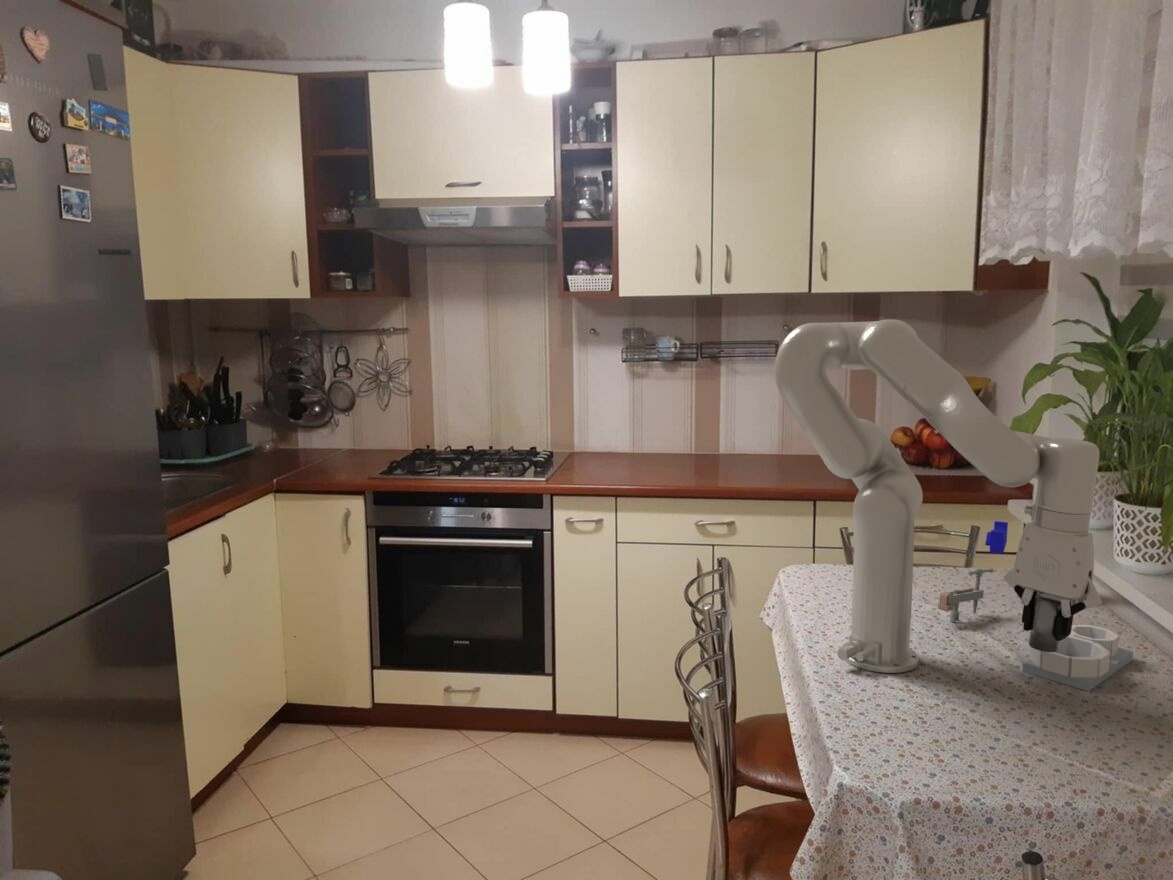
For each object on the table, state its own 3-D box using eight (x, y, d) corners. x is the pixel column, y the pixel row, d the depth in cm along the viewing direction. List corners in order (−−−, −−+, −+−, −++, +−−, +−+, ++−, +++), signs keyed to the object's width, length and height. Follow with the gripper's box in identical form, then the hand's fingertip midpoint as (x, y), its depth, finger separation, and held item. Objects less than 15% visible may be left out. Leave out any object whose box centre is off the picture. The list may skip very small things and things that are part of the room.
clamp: (946, 626, 157) (951, 575, 156) (935, 623, 159) (940, 572, 158) (991, 617, 166) (997, 567, 165) (981, 614, 168) (986, 565, 167)
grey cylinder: (1051, 654, 128) (1058, 604, 127) (1024, 645, 131) (1030, 596, 130) (1061, 648, 131) (1069, 599, 129) (1035, 639, 134) (1041, 591, 132)
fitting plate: (1090, 692, 130) (1092, 665, 130) (1019, 671, 138) (1021, 645, 138) (1134, 660, 142) (1136, 634, 142) (1067, 642, 151) (1069, 618, 150)
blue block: (987, 542, 219) (988, 520, 218) (1006, 544, 217) (1007, 522, 216) (982, 553, 208) (984, 530, 208) (1002, 556, 206) (1004, 532, 205)
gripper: (994, 511, 132) (980, 621, 135) (1112, 537, 119) (1094, 658, 122) (1015, 505, 136) (1001, 612, 139) (1131, 529, 124) (1113, 646, 127)
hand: (1045, 632), depth 131 cm, fingers closed on grey cylinder, 4 cm apart
